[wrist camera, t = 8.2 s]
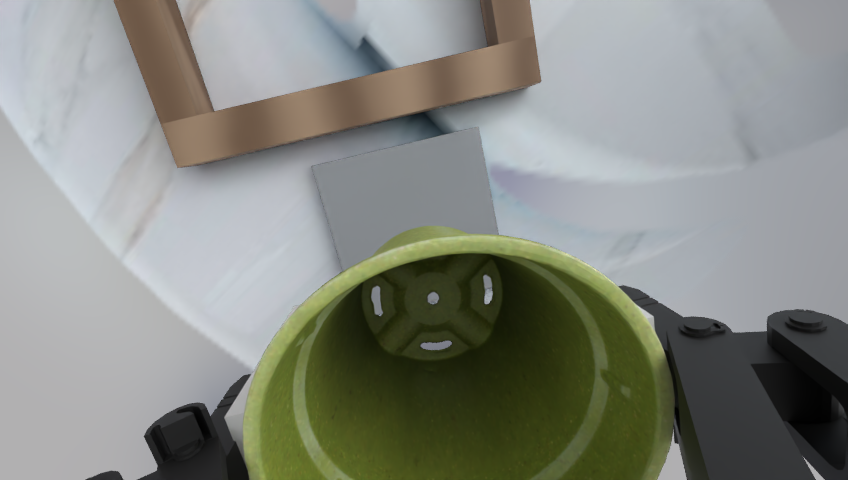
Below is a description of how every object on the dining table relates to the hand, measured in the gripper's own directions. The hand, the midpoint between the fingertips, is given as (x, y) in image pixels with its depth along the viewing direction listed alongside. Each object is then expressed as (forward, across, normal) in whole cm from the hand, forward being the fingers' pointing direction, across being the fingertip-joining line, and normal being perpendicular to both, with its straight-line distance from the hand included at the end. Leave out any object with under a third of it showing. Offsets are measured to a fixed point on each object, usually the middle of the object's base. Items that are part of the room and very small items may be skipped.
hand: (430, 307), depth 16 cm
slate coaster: (+17, 0, 0) cm, 17 cm away
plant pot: (+1, 0, 0) cm, 1 cm away
